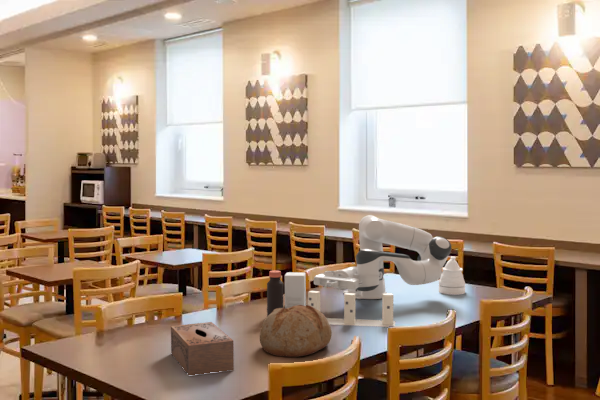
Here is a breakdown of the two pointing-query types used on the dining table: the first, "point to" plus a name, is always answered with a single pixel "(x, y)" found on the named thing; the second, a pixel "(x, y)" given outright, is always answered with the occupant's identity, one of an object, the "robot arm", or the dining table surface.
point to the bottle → (274, 292)
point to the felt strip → (359, 322)
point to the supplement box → (295, 289)
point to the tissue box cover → (202, 348)
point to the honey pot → (452, 279)
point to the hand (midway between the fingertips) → (328, 285)
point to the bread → (295, 331)
